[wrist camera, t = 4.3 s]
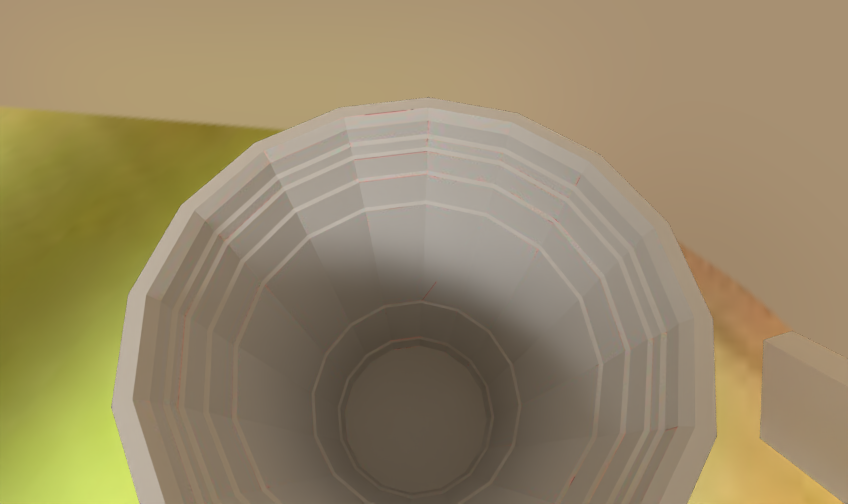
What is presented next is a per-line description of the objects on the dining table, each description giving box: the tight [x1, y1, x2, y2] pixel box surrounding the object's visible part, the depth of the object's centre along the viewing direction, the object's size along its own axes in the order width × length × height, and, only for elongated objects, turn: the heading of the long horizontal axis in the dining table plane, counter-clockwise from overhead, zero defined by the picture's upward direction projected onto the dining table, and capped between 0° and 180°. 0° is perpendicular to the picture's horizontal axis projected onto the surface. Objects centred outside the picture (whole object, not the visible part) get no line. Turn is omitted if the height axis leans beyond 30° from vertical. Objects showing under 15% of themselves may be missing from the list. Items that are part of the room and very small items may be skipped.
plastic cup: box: [111, 97, 717, 504], centre depth 15 cm, size 11×11×12 cm
